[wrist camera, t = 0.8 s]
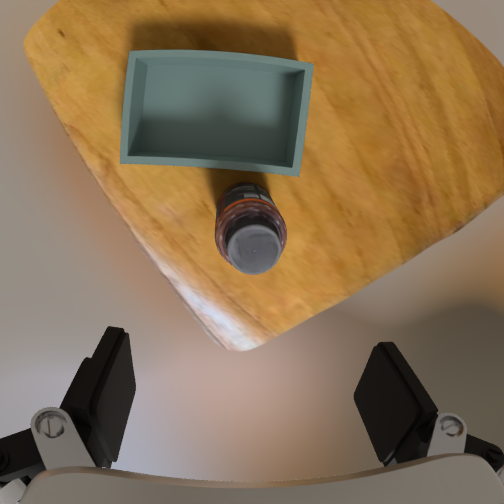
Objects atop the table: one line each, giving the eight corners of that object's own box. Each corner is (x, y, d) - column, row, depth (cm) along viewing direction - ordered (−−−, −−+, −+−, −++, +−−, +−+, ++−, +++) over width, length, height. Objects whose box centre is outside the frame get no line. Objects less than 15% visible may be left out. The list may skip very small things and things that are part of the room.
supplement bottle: (233, 244, 35) (236, 299, 24) (206, 197, 32) (196, 236, 22) (282, 219, 34) (306, 265, 24) (257, 171, 32) (272, 196, 21)
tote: (143, 60, 26) (129, 51, 21) (301, 71, 28) (313, 63, 23) (135, 157, 30) (119, 163, 25) (288, 168, 32) (299, 176, 27)
